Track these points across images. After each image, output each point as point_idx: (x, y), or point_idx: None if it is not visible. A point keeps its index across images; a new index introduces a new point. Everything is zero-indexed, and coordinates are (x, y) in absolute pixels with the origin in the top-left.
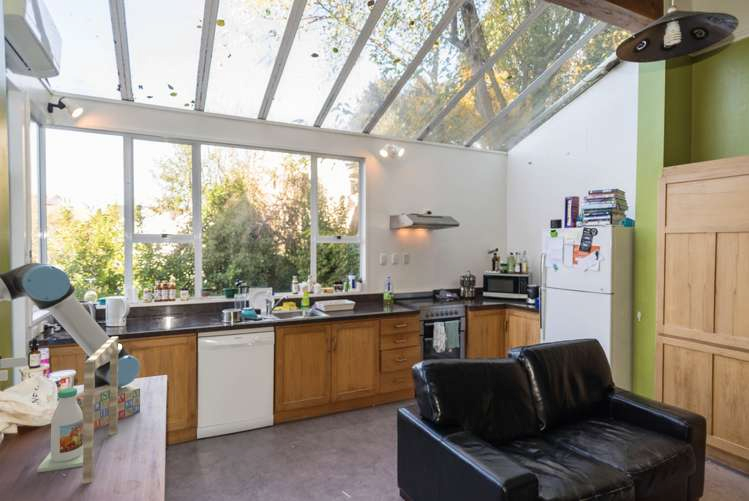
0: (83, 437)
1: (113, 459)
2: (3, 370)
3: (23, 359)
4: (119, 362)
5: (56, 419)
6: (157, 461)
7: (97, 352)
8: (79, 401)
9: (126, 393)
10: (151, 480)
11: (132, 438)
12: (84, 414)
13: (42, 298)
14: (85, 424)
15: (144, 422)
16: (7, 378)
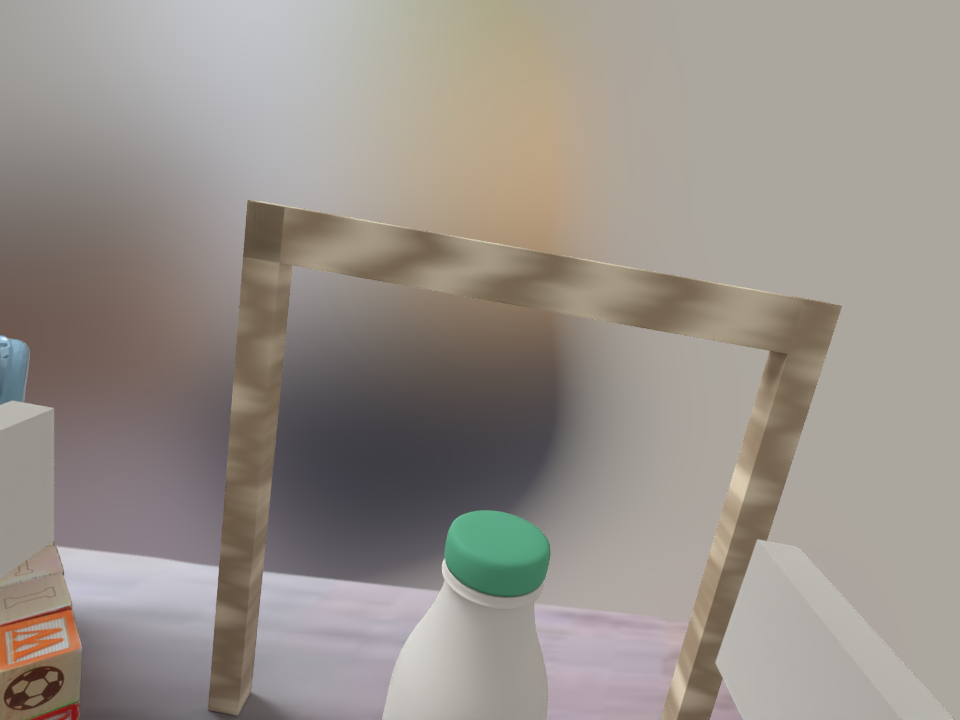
0: None
1: None
2: (791, 568)
3: (14, 456)
4: (24, 378)
5: (538, 717)
6: (562, 609)
7: (639, 269)
8: (40, 682)
9: None
10: (670, 631)
11: (343, 646)
12: (764, 540)
13: None
14: None
15: (202, 604)
16: (729, 648)
